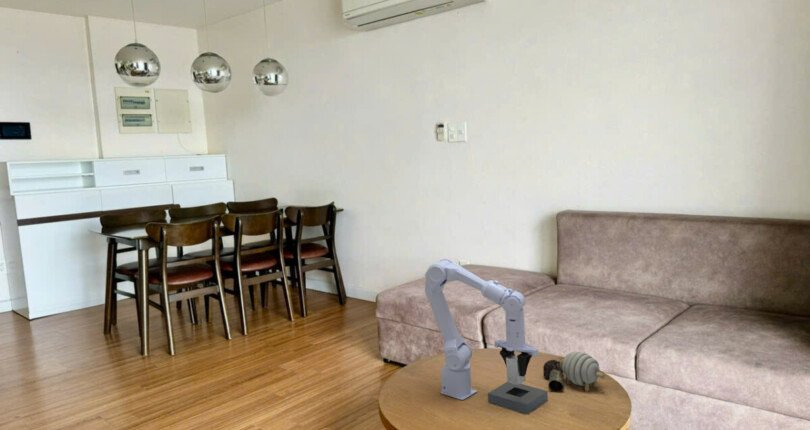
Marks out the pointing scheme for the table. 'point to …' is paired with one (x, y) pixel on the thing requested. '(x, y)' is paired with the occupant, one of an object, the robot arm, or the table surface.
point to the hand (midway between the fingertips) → (516, 373)
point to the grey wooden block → (514, 370)
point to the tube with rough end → (554, 375)
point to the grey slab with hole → (518, 397)
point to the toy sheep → (581, 369)
